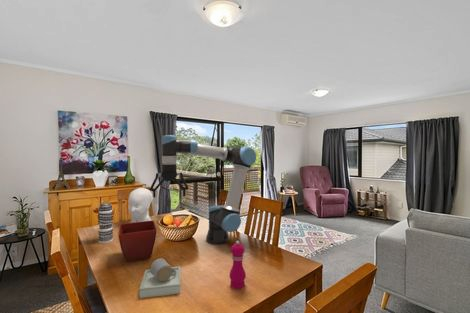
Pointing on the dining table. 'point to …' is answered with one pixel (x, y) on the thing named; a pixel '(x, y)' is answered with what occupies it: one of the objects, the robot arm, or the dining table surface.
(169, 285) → the display plinth
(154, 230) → the plant pot
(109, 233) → the decorative candle
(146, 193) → the head sculpture
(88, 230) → the dining table surface
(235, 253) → the pepper mill
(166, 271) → the ceramic mug
